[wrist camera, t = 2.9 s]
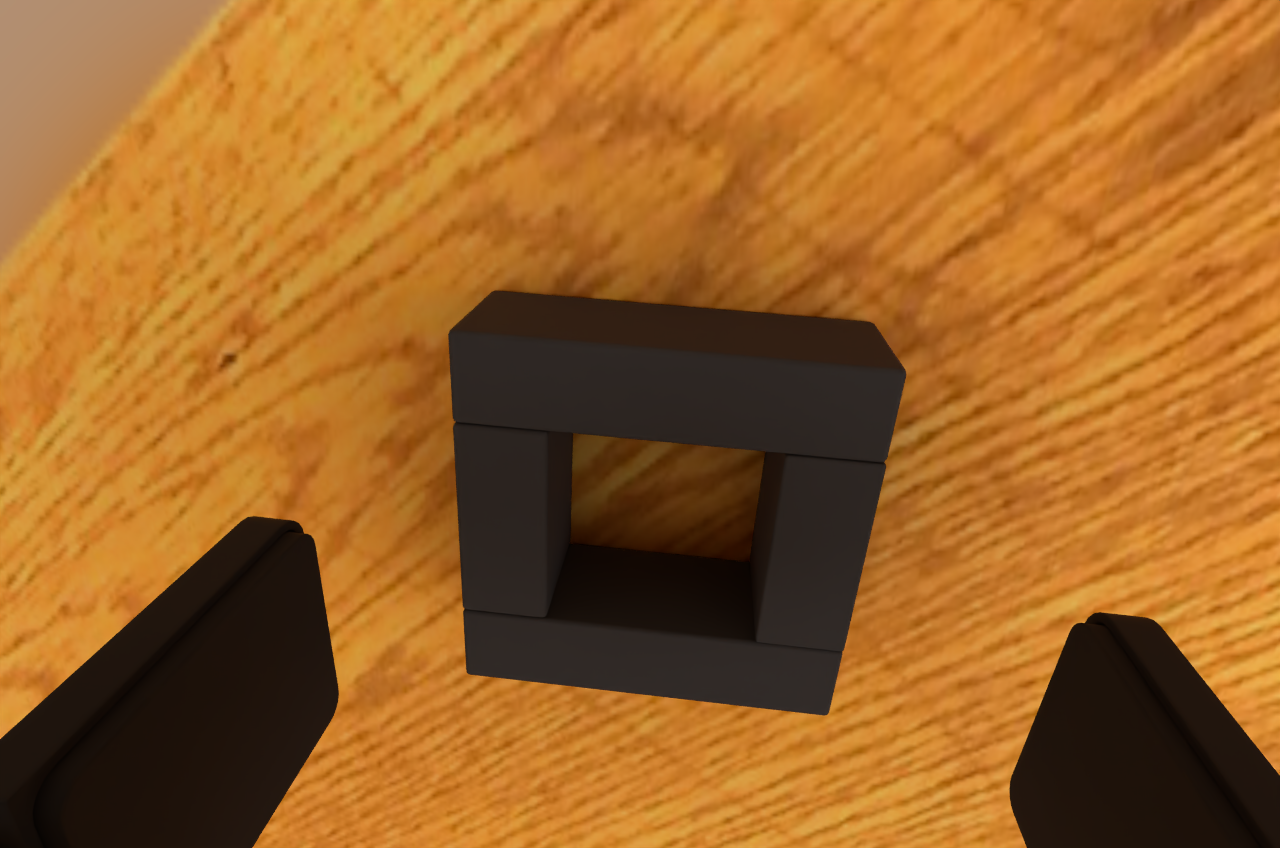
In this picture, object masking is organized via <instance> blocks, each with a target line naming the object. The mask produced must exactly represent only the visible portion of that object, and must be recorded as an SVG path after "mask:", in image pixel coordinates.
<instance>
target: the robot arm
mask: <svg viewBox="0 0 1280 848" xmlns="http://www.w3.org/2000/svg"><path fill="white" fill-rule="evenodd" d="M338 696H339V691H338V683H337V677H336V670H335V664H334V658H333V652H332V646H331V639H330V633H329V627H328V621H327V614H326V608H325V602H324V596H323V590H322V583H321V577H320V571H319V565H318V558H317V552H316V546H315V542H314V539H313V538H312V536H311V535H308V534H304V532H303V528H302V527H301V526H300V524H299V523H297V522H295V521H291V520H282V519H273V518H264V517H255V516H253V517H247V518H246V519H244V520H243V521H241V522H240V523H239V524H238V525H237V526H236V527H234V528H233V529H232V530H231V531H230V532H229V533H228V534H227V535H226V536H224V537H223V538H222V539H221V540H220V541H219V542H218V543H217V544H216V545H215V546H213V547H212V548H211V549H210V550H209V551H208V552H207V553H206V554H205V555H203V556H202V557H201V558H200V559H199V560H198V561H197V562H196V563H195V564H194V565H192V566H191V567H190V568H189V569H188V570H187V571H186V572H185V573H184V574H182V575H181V576H180V577H179V578H178V579H177V580H176V581H175V582H174V583H173V584H171V585H170V586H169V587H168V588H167V589H166V590H165V591H164V592H163V593H161V594H160V595H159V596H158V597H157V598H156V599H155V600H154V601H153V602H152V603H150V604H149V605H148V606H147V607H146V608H145V609H144V610H143V611H142V612H140V613H139V614H138V615H137V616H136V617H135V618H134V619H133V620H132V621H131V622H129V623H128V624H127V625H126V626H125V627H124V628H123V629H122V630H121V631H119V632H118V633H117V634H116V635H115V636H114V637H113V638H112V639H111V640H109V641H108V642H107V643H106V644H105V645H104V646H103V647H102V648H101V649H100V650H98V651H97V652H96V653H95V654H94V655H93V656H92V657H91V658H90V659H88V660H87V661H86V662H85V663H84V664H83V665H82V666H81V667H80V668H79V669H77V670H76V671H75V672H74V673H73V674H72V675H71V676H70V677H69V678H67V679H66V680H65V681H64V682H63V683H62V684H61V685H60V686H59V687H58V688H56V689H55V690H54V691H53V692H52V693H51V694H50V695H49V696H48V697H46V698H45V699H44V700H43V701H42V702H41V703H40V704H39V705H38V706H37V707H35V708H34V709H33V710H32V711H31V712H30V713H29V714H28V715H27V716H25V717H24V718H23V719H22V720H21V721H20V722H19V723H18V724H17V725H16V726H14V727H13V728H12V729H11V730H10V731H9V732H8V733H7V734H6V735H4V736H3V737H2V738H1V739H0V848H252V847H253V846H254V844H255V842H256V841H257V839H258V838H259V836H260V834H261V833H262V831H263V829H264V828H265V826H266V825H267V823H268V821H269V820H270V818H271V817H272V815H273V813H274V812H275V810H276V809H277V807H278V805H279V804H280V802H281V800H282V799H283V797H284V796H285V794H286V792H287V791H288V789H289V788H290V786H291V784H292V783H293V781H294V780H295V778H296V776H297V775H298V773H299V771H300V770H301V768H302V767H303V765H304V763H305V762H306V760H307V759H308V757H309V755H310V754H311V752H312V750H313V749H314V747H315V746H316V744H317V742H318V741H319V739H320V738H321V736H322V734H323V733H324V731H325V730H326V728H327V726H328V725H329V723H330V721H331V719H332V718H333V716H334V713H335V710H336V707H337V703H338ZM1010 801H1011V806H1012V810H1013V813H1014V816H1015V818H1016V821H1017V823H1018V826H1019V828H1020V831H1021V833H1022V836H1023V839H1024V841H1025V844H1026V846H1027V848H1280V775H1279V774H1278V773H1277V772H1276V770H1275V769H1274V768H1273V767H1272V765H1271V764H1270V763H1269V762H1268V760H1267V759H1266V758H1265V757H1264V755H1263V754H1262V753H1261V752H1260V750H1259V749H1258V748H1257V747H1256V745H1255V744H1254V743H1253V742H1252V740H1251V739H1250V738H1249V737H1248V735H1247V734H1246V733H1245V732H1244V730H1243V729H1242V728H1241V727H1240V725H1239V724H1238V723H1237V721H1236V720H1235V719H1234V718H1233V716H1232V715H1231V714H1230V713H1229V711H1228V710H1227V709H1226V708H1225V706H1224V705H1223V704H1222V703H1221V701H1220V700H1219V699H1218V698H1217V696H1216V695H1215V694H1214V693H1213V691H1212V690H1211V689H1210V688H1209V686H1208V685H1207V684H1206V683H1205V681H1204V680H1203V679H1202V678H1201V676H1200V675H1199V674H1198V673H1197V671H1196V670H1195V669H1194V667H1193V666H1192V665H1191V664H1190V662H1189V661H1188V660H1187V659H1186V657H1185V656H1184V655H1183V654H1182V652H1181V651H1180V650H1179V649H1178V647H1177V646H1176V645H1175V644H1174V642H1173V641H1172V640H1171V639H1170V637H1169V636H1168V635H1167V634H1166V632H1165V631H1164V630H1163V629H1162V627H1161V626H1160V625H1159V624H1158V623H1156V622H1155V621H1154V620H1152V619H1149V618H1145V617H1136V616H1127V615H1118V614H1109V613H1101V612H1099V613H1094V614H1092V615H1091V616H1090V617H1089V618H1088V619H1087V621H1086V622H1085V623H1077V624H1076V625H1074V626H1073V627H1072V629H1071V631H1070V633H1069V635H1068V638H1067V640H1066V643H1065V645H1064V648H1063V650H1062V653H1061V655H1060V658H1059V660H1058V663H1057V665H1056V668H1055V670H1054V673H1053V675H1052V678H1051V680H1050V682H1049V685H1048V687H1047V690H1046V692H1045V695H1044V697H1043V700H1042V702H1041V705H1040V707H1039V710H1038V712H1037V715H1036V717H1035V720H1034V722H1033V725H1032V727H1031V730H1030V732H1029V735H1028V737H1027V740H1026V742H1025V745H1024V747H1023V750H1022V752H1021V755H1020V757H1019V760H1018V762H1017V764H1016V767H1015V769H1014V772H1013V774H1012V777H1011V781H1010Z"/></svg>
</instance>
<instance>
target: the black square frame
mask: <svg viewBox="0 0 1280 848" xmlns="http://www.w3.org/2000/svg"><path fill="white" fill-rule="evenodd" d="M448 336H449V354H450V373H451V391H452V410H453V419H454V421H456V422H455V424H454V426H453V433H454V451H455V469H456V488H457V506H458V524H459V543H460V561H461V579H462V598H463V607H464V608H465V609H464V611H463V616H464V634H465V653H466V670H467V673H468V674H470V675H479V676H488V677H496V678H505V679H514V680H522V681H531V682H540V683H548V684H557V685H566V686H574V687H583V688H591V689H600V690H609V691H617V692H626V693H635V694H643V695H652V696H661V697H669V698H678V699H687V700H695V701H704V702H713V703H721V704H730V705H739V706H747V707H756V708H765V709H773V710H782V711H791V712H799V713H808V714H816V715H827V714H828V713H829V710H830V705H831V701H832V697H833V692H834V688H835V684H836V679H837V675H838V671H839V666H840V662H841V658H842V651H843V650H844V647H845V643H846V639H847V634H848V630H849V626H850V621H851V617H852V612H853V608H854V604H855V599H856V595H857V591H858V586H859V582H860V578H861V573H862V569H863V565H864V560H865V556H866V552H867V547H868V543H869V539H870V534H871V530H872V526H873V521H874V517H875V513H876V508H877V504H878V500H879V495H880V491H881V487H882V482H883V478H884V474H885V469H886V465H885V460H886V459H887V457H888V452H889V448H890V444H891V439H892V435H893V431H894V426H895V422H896V418H897V413H898V409H899V404H900V400H901V396H902V391H903V387H904V383H905V378H906V371H905V369H904V367H903V366H902V364H901V363H900V361H899V360H898V358H897V357H896V356H895V354H894V353H893V351H892V350H891V348H890V347H889V345H888V344H887V342H886V341H885V339H884V338H883V336H882V335H881V333H880V332H879V330H878V329H877V327H876V326H875V324H873V323H871V322H863V321H851V320H839V319H828V318H816V317H804V316H792V315H780V314H768V313H756V312H744V311H732V310H720V309H708V308H696V307H684V306H672V305H660V304H648V303H636V302H624V301H613V300H601V299H589V298H577V297H565V296H553V295H541V294H529V293H517V292H505V291H493V292H491V293H490V294H489V295H488V296H487V297H486V298H485V299H484V300H483V301H482V302H480V303H479V304H478V305H477V306H476V307H475V308H474V309H473V310H472V311H471V312H470V313H468V314H467V315H466V316H465V317H464V318H463V319H462V320H461V321H460V322H459V323H458V324H456V325H455V326H454V327H453V328H452V329H451V330H450V332H449V334H448ZM573 433H577V434H587V435H598V436H608V437H619V438H629V439H640V440H650V441H661V442H672V443H682V444H693V445H703V446H714V447H724V448H735V449H745V450H756V451H766V453H765V459H764V466H763V473H762V479H761V486H760V493H759V499H758V506H757V513H756V520H755V526H754V533H753V540H752V546H751V553H750V562H742V561H733V560H723V559H713V558H704V557H694V556H685V555H675V554H665V553H656V552H646V551H636V550H627V549H617V548H608V547H598V546H588V545H579V544H570V539H571V495H572V451H573Z"/></svg>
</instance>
